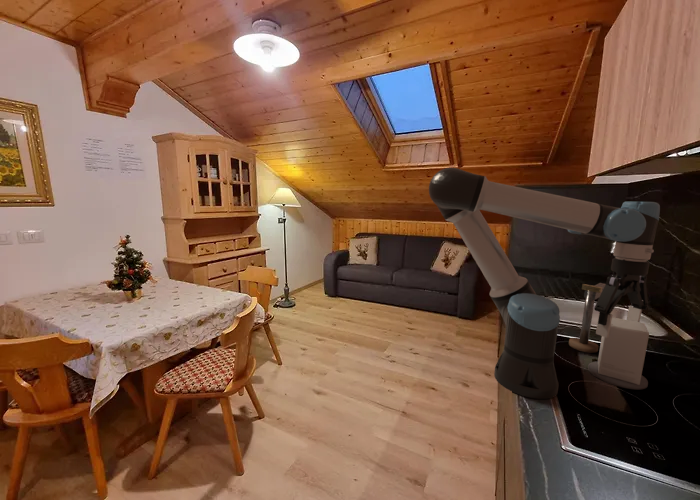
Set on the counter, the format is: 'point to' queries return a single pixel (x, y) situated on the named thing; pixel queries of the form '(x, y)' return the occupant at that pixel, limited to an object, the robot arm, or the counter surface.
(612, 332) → the supplement box
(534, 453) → the counter surface
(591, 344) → the disc
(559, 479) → the counter surface
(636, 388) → the coaster
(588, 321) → the swing latch
